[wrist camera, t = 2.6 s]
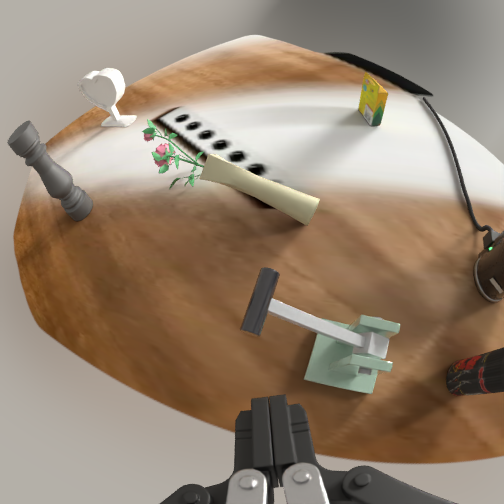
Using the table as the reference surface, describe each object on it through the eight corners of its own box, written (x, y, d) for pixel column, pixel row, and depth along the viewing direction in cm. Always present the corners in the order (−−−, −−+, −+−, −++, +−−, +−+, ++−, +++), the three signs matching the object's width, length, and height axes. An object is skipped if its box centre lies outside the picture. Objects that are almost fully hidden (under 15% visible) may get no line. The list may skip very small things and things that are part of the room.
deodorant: (447, 400, 31) (509, 396, 17) (444, 365, 33) (505, 349, 20) (473, 389, 30) (534, 379, 17) (470, 356, 33) (530, 336, 20)
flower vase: (291, 251, 53) (137, 181, 55) (316, 195, 54) (165, 133, 56) (301, 244, 41) (112, 160, 43) (331, 174, 42) (147, 104, 44)
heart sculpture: (96, 126, 69) (72, 81, 53) (106, 115, 71) (84, 71, 55) (131, 127, 65) (107, 74, 49) (141, 115, 67) (120, 64, 51)
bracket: (303, 379, 36) (315, 377, 23) (320, 319, 39) (338, 288, 27) (369, 393, 33) (410, 395, 21) (383, 335, 37) (425, 310, 25)
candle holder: (93, 194, 56) (34, 114, 33) (92, 214, 53) (26, 132, 30) (72, 204, 55) (12, 131, 33) (71, 225, 52) (2, 150, 30)
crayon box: (380, 126, 57) (390, 86, 47) (370, 126, 57) (379, 86, 47) (367, 108, 60) (374, 71, 50) (357, 109, 60) (364, 70, 50)
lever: (235, 330, 23) (245, 329, 20) (256, 270, 25) (267, 264, 23) (366, 373, 26) (381, 374, 24) (376, 325, 28) (392, 323, 26)
